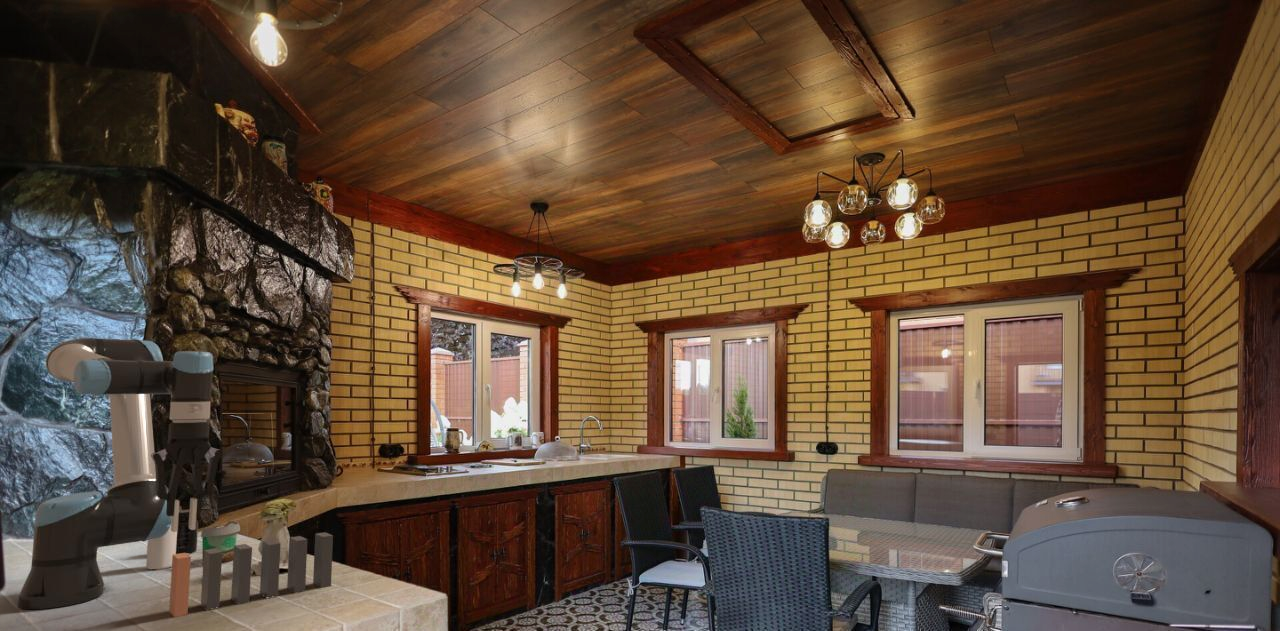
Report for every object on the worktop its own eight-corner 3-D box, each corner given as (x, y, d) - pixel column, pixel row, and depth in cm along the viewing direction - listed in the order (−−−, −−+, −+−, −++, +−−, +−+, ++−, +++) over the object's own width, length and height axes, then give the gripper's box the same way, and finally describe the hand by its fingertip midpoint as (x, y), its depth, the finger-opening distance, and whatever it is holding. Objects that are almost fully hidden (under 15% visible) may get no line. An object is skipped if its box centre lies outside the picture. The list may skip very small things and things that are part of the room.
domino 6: (320, 587, 168) (322, 536, 169) (313, 583, 171) (315, 533, 173) (331, 585, 169) (333, 535, 171) (323, 581, 173) (325, 532, 174)
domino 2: (206, 610, 151) (209, 553, 152) (200, 605, 155) (204, 549, 156) (219, 608, 153) (222, 552, 154) (213, 602, 156) (216, 548, 158)
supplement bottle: (171, 551, 205) (173, 509, 206) (198, 549, 208) (200, 508, 209) (166, 556, 199) (169, 513, 200) (194, 554, 202) (197, 511, 203)
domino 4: (266, 598, 159) (269, 545, 161) (259, 593, 163) (262, 541, 164) (278, 596, 161) (280, 543, 162) (270, 591, 165) (273, 539, 166)
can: (180, 564, 190) (183, 519, 191) (162, 570, 184) (165, 524, 185) (158, 563, 191) (161, 519, 192) (139, 570, 184) (142, 523, 186)
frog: (309, 569, 185) (312, 499, 186) (255, 578, 176) (259, 504, 178) (297, 560, 194) (300, 494, 196) (245, 568, 185) (249, 499, 187)
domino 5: (294, 593, 164) (296, 540, 165) (287, 588, 167) (289, 537, 168) (305, 591, 165) (307, 539, 166) (297, 586, 169) (299, 536, 170)
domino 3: (237, 604, 155) (240, 549, 156) (231, 599, 159) (233, 545, 160) (249, 602, 157) (252, 547, 158) (242, 597, 161) (245, 543, 162)
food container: (221, 567, 187) (223, 529, 188) (198, 567, 187) (201, 529, 188) (248, 555, 200) (249, 520, 200) (226, 555, 200) (228, 520, 201)
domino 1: (174, 617, 147) (177, 558, 148) (169, 611, 151) (172, 554, 152) (187, 614, 149) (190, 556, 150) (182, 608, 152) (185, 552, 153)
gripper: (150, 423, 146) (142, 538, 143) (234, 420, 156) (228, 527, 154) (143, 421, 151) (136, 532, 149) (225, 419, 162) (219, 522, 159)
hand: (183, 529), depth 151 cm, fingers open, 3 cm apart
